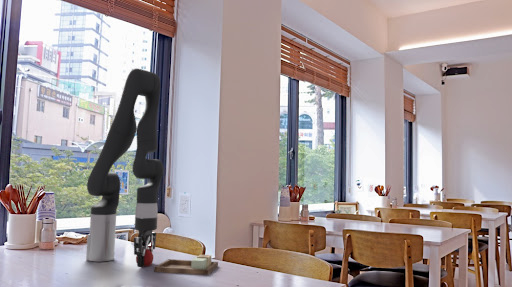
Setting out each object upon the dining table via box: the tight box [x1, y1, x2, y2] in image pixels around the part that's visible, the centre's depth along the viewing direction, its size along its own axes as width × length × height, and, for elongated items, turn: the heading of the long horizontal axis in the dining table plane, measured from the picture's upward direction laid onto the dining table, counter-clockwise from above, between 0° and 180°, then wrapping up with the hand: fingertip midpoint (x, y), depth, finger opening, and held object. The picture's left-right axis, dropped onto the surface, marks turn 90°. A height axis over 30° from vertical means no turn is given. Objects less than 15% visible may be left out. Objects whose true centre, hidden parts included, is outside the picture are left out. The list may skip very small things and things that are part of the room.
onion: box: [135, 249, 154, 269], centre depth 150 cm, size 6×6×8 cm
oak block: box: [196, 254, 212, 269], centre depth 148 cm, size 4×4×4 cm
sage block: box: [191, 257, 207, 269], centre depth 142 cm, size 4×4×4 cm
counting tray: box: [153, 258, 219, 276], centre depth 146 cm, size 18×13×3 cm
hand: (144, 264), depth 150 cm, fingers closed on onion, 6 cm apart
